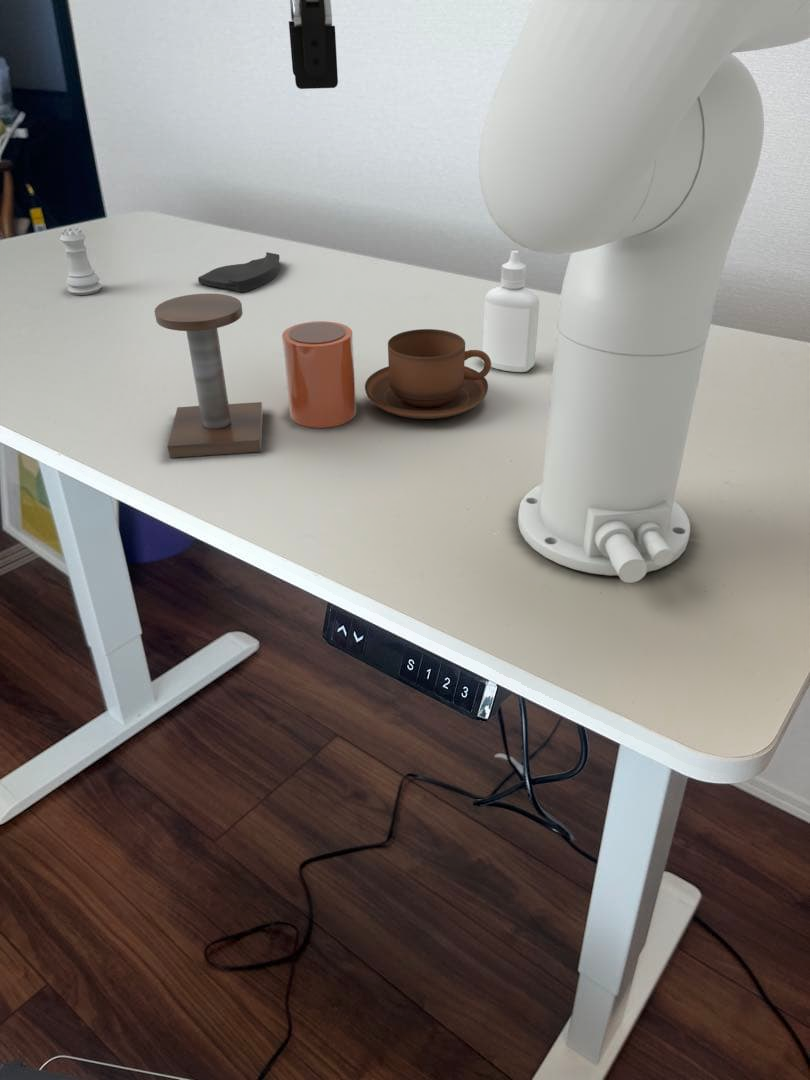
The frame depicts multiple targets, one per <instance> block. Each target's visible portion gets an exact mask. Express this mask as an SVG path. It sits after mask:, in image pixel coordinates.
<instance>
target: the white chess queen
mask: <svg viewBox="0 0 810 1080" xmlns="http://www.w3.org/2000/svg"><path fill="white" fill-rule="evenodd" d="M73 229H74V230H73ZM73 229H72V227H67V228H63V229H61V230H60V234H61V235H60V237H59V240H60V241H61V242H62V243H63V244H64V247H65V248H64V252H65V253H66V256H67V263H68V272H67V278H66V281H65V283H66V285H67V286H68V288H67V291H68V292H69V293H70V294H71V295H73V296H87V295H93V294H96V293H99V292H100V291H101V288H102V287H103V285H102V284H101V282H100V277H99V275H98V274H96V273H95V270H94V269H93V267H92V266H91V264H90V261H89V258H88V255H87V254H88V253H87V249H88V248H87V247H86V246H85V243H84V242H85V239H86V237H87V236H86V234H85V233H83V230H82V228H81V227H80V228H79V227H74V228H73ZM99 282H100V283H99Z"/></svg>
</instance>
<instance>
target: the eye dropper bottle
mask: <svg viewBox="0 0 810 1080" xmlns="http://www.w3.org/2000/svg"><path fill="white" fill-rule="evenodd" d="M526 272H527V265H526V264H524V262H521V260H520V252H519V251H518V250H511V252H510V255H509V259H508V261H507V262H505V263H502V265H501V275H500V276H501V277H500V285H499V286H496V287H493V288H491V289H490V290H489V291H487V292H486V294H485V296H484V302H483V318H482V337H481V338H482V341H481V351H483V352H485V353H486V354H487V355H488V356H489V358H490V360H491V368H493V369H496V370H499V371H505V372H512V373H525V372H528V371H529V370H530V369H532V368H533V367H534V365H535V362H536V351H537V341H538V340H537V339H538V328H539V327H538V326H539V316H540V315H539V313H540V299H539V297H538V296H537V294H536V293H534V292H533V291H532V290H530V289H528V288H526V287H525V286H526ZM481 363H483V364H484V361H483V360H482V359H481Z"/></svg>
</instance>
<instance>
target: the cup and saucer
mask: <svg viewBox="0 0 810 1080" xmlns="http://www.w3.org/2000/svg"><path fill="white" fill-rule="evenodd" d="M387 357H388V359H387V361H388V366H386V367H385V366H384V367H383V368H380V369H378V370H377V371H375V372H373V373H371V375H370V376H369V377H368V378H367V379H366V381H365V383H364V390H365V394H366V397H367V398H368V399H369V400H370V402H371V403H373V404H374V405H375V406H376V407H378V408H379V409H381V410H383V411H385V412H387V413H390V414H393V415H395V416H399V417H403V418H410V419H419V420H420V419H421V420H422V419H424V420H430V419H431V420H433V419H442V418H448V417H453V416H457V415H461V414H463V413H466V412H468V411H470V410H472V409H473V408H475V407H476V406H477V405H479V404H480V403H481V402H482V401H483V400H484V399H485V398H486V396H487V394H488V390H489V383H488V379H486V376H487V375H489V373H490V371H491V368H492V367H491V360H490V358H489V356H488V355H487V354H486V353H485V352H483V351H482V350H481V349H469V350H466V341H465V339H464V338H463V337H462V336H461V335H459V334H457V333H454V332H452V331H448V330H443V329H436V328H435V329H433V328H423V329H422V328H421V329H418V328H417V329H411V330H405V331H402V332H399V333H397V334H395V335H393V336H392V337H390V339H388V341H387ZM470 358H479V359H481V361H482V360H483V361H484V363H483V364H484V365H483V368H482V369H481V371H477V370H475V369H473V368H471V367H469V366H466V365H465V362H466V361H467V360H469V359H470Z"/></svg>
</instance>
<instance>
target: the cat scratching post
mask: <svg viewBox="0 0 810 1080" xmlns="http://www.w3.org/2000/svg"><path fill="white" fill-rule="evenodd" d="M243 314H244V313H243V304H242V301H241V300H240V299H238V298H236V297H235V296H232V295H228V294H221V293H193V294H187V295H181V296H177V297H173V298H170V299H167V300H165V301H163V302H160V303H159V304H158V305H157V306H156V307H155V308H154V317H155V322H156V323H157V325H159V326H160V327H162V328H165V329H168V330H172V331H177V332H186V337H187V338H186V339H187V343H188V349H189V354H190V361H191V367H192V371H193V378H194V385H195V390H196V395H197V402H198V405H193V406H178V407H177V408H176V411H175V415H174V419H173V423H172V427H171V431H170V435H169V438H168V441H167V451H168V452H167V453H168V457H169V459H174V458H176V459H177V458H189V457H204V456H217V455H234V454H235V455H236V454H248V453H261V452H262V439H263V421H264V419H263V418H264V409H263V402H262V401H258V402H240V403H229V398H228V391H227V384H226V378H225V369H224V365H223V363H224V362H223V357H222V351H221V344H220V337H219V331H218V329H219V328H223V327H226V326H228V325H231V324H233V323H235V322H237V321H238V320H240V319H241V318H242V316H243Z"/></svg>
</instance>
